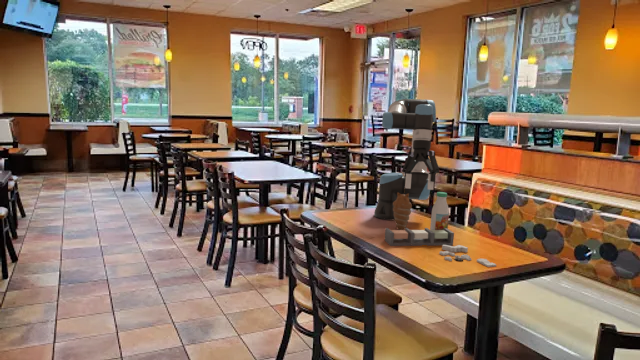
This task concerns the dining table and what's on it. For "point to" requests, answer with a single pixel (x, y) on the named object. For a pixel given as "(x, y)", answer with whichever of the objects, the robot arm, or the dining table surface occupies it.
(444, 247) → the white puzzle pieces
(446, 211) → the milk bottle
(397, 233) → the brown flat block
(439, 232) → the sage key
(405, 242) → the keypad
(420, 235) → the cream key
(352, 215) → the dining table surface
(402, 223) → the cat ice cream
